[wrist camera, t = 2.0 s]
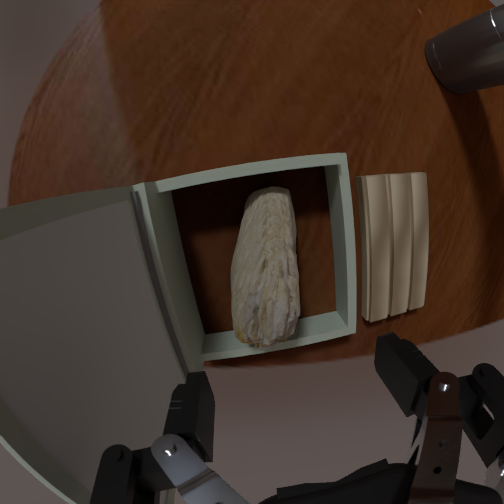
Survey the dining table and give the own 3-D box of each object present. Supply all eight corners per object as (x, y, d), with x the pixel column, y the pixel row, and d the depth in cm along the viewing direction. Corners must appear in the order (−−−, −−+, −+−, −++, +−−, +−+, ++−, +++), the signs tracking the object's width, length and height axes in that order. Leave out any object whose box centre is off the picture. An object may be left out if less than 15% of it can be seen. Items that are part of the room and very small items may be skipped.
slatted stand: (417, 172, 27) (427, 172, 25) (417, 298, 32) (425, 305, 30) (355, 176, 27) (363, 177, 25) (361, 315, 32) (368, 323, 30)
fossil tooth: (298, 192, 29) (277, 322, 31) (240, 183, 28) (223, 318, 30) (345, 188, 17) (305, 380, 20) (254, 171, 16) (226, 379, 19)
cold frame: (331, 155, 26) (582, 140, 2) (343, 316, 32) (457, 488, 7) (152, 184, 26) (-96, 246, 2) (192, 342, 31) (155, 549, 7)
